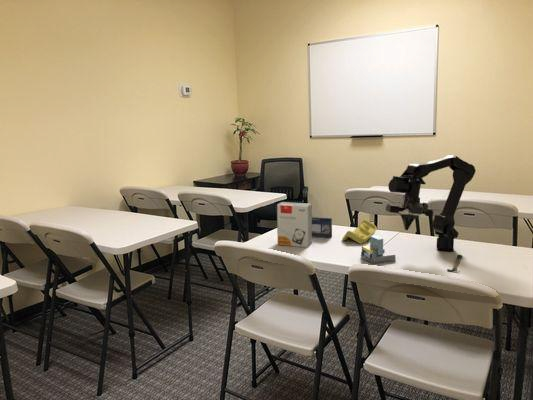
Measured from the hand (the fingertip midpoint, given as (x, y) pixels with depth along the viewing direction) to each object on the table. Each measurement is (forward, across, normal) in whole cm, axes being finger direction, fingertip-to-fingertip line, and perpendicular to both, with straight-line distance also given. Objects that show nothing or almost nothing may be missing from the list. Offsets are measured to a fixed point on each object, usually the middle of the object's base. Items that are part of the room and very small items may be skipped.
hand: (406, 230), depth 175 cm
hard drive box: (+17, -43, +25) cm, 52 cm away
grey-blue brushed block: (+12, -14, -4) cm, 19 cm away
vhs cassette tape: (+15, -32, +37) cm, 51 cm away
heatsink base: (+13, -11, -3) cm, 18 cm away
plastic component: (+12, -9, +30) cm, 33 cm away
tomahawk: (+10, +18, -14) cm, 25 cm away
